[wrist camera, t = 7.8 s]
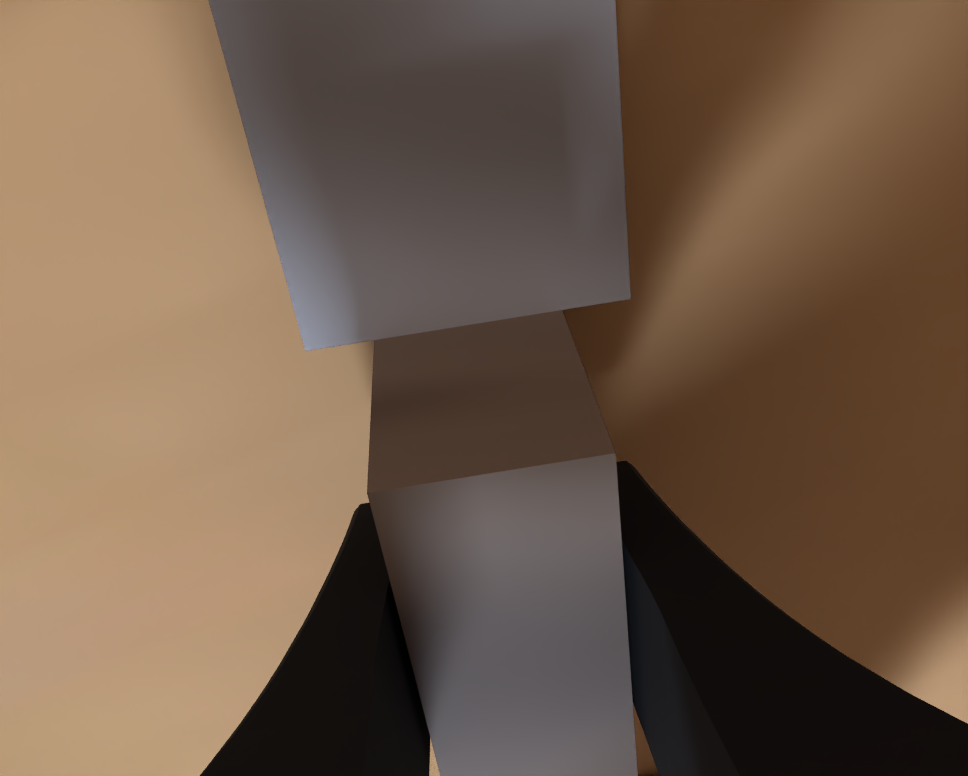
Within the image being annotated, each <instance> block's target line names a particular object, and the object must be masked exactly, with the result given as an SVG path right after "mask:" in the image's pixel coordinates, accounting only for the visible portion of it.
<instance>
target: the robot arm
mask: <svg viewBox="0 0 968 776" xmlns="http://www.w3.org/2000/svg"><path fill="white" fill-rule="evenodd" d="M616 465H617V479H618V494H619V509H620V523H621V538H622V553H623V567H624V582H625V597H626V611H627V626H628V641H629V655H630V670H631V685H632V699H633V704H634V707H635V709H636V712H637V715H638V717H639V720H640V723H641V726H642V728H643V731H644V734H645V737H646V739H647V742H648V745H649V748H650V750H651V753H652V756H653V758H654V761H655V764H656V767H657V769H658V772H659V775H660V776H968V724H967V723H965V722H963V721H961V720H959V719H957V718H955V717H953V716H951V715H950V714H948V713H946V712H944V711H942V710H940V709H938V708H936V707H934V706H932V705H930V704H928V703H926V702H925V701H923V700H921V699H919V698H917V697H915V696H913V695H911V694H909V693H908V692H906V691H904V690H902V689H901V688H899V687H897V686H896V685H894V684H892V683H891V682H889V681H887V680H886V679H884V678H882V677H881V676H879V675H877V674H876V673H874V672H872V671H871V670H869V669H867V668H866V667H864V666H862V665H861V664H859V663H857V662H856V661H854V660H852V659H851V658H849V657H847V656H846V655H844V654H843V653H841V652H840V651H838V650H837V649H835V648H834V647H832V646H831V645H829V644H828V643H826V642H825V641H823V640H822V639H820V638H819V637H817V636H816V635H815V634H813V633H812V632H810V631H809V630H808V629H806V628H805V627H803V626H802V625H801V624H799V623H798V622H797V621H795V620H794V619H792V618H791V617H790V616H788V615H787V614H786V613H784V612H783V611H782V610H781V609H779V608H778V607H777V606H775V605H774V604H773V603H772V602H770V601H769V600H768V599H767V598H765V597H764V596H763V595H762V594H760V593H759V592H758V591H757V590H756V589H754V588H753V587H752V586H751V585H750V584H749V583H747V582H746V581H745V580H744V579H743V578H742V577H740V576H739V575H738V574H737V573H736V572H734V571H733V570H732V569H731V568H730V567H729V566H728V565H727V564H726V563H724V562H723V561H722V560H721V559H720V558H719V557H718V556H717V555H716V554H715V553H714V552H713V551H712V550H711V549H710V548H709V547H707V546H706V545H705V544H704V543H703V542H702V541H701V540H700V539H699V538H698V537H697V536H696V535H695V534H694V533H693V532H692V531H691V530H690V529H689V528H688V527H687V526H686V525H685V524H684V523H683V522H682V521H681V520H680V519H679V518H678V517H677V516H676V515H675V514H674V512H673V511H672V510H671V509H670V508H669V507H668V506H667V505H666V504H665V503H664V502H663V501H662V500H661V498H660V497H659V496H658V495H657V494H656V493H655V492H654V490H653V489H652V488H651V487H650V486H649V485H648V483H647V482H646V481H645V480H644V479H643V477H642V476H641V475H640V474H639V473H638V471H637V470H636V469H635V467H634V466H633V465H631V464H630V463H628V462H627V461H621V462H616ZM429 762H430V734H429V730H428V726H427V722H426V718H425V714H424V710H423V707H422V703H421V699H420V695H419V691H418V687H417V683H416V680H415V676H414V672H413V668H412V664H411V660H410V656H409V653H408V649H407V645H406V641H405V637H404V633H403V629H402V626H401V622H400V618H399V614H398V610H397V606H396V602H395V599H394V595H393V591H392V587H391V583H390V579H389V575H388V572H387V568H386V564H385V560H384V556H383V552H382V548H381V545H380V541H379V537H378V533H377V529H376V525H375V521H374V518H373V514H372V510H371V506H370V503H365V504H360V505H359V507H358V508H357V509H356V510H355V511H354V514H353V517H352V520H351V522H350V525H349V528H348V530H347V533H346V535H345V538H344V540H343V542H342V545H341V547H340V550H339V552H338V554H337V556H336V559H335V561H334V563H333V565H332V567H331V570H330V572H329V574H328V576H327V578H326V580H325V582H324V584H323V586H322V588H321V590H320V592H319V594H318V596H317V598H316V600H315V602H314V604H313V606H312V608H311V610H310V612H309V614H308V616H307V618H306V620H305V621H304V623H303V625H302V627H301V628H300V630H299V632H298V634H297V635H296V637H295V639H294V641H293V642H292V644H291V646H290V647H289V649H288V651H287V653H286V654H285V656H284V658H283V660H282V661H281V663H280V665H279V666H278V668H277V670H276V671H275V673H274V674H273V676H272V677H271V679H270V681H269V682H268V684H267V685H266V687H265V688H264V690H263V691H262V693H261V694H260V696H259V697H258V699H257V700H256V702H255V703H254V704H253V706H252V707H251V709H250V710H249V712H248V713H247V714H246V716H245V717H244V719H243V720H242V722H241V723H240V724H239V726H238V727H237V729H236V730H235V731H234V732H233V734H232V735H231V736H230V738H229V739H228V740H227V742H226V743H225V744H224V745H223V747H222V748H221V749H220V751H219V752H218V753H217V754H216V756H215V757H214V758H213V760H212V761H211V762H210V764H209V765H208V766H207V767H206V769H205V770H204V771H203V772H202V773H201V775H200V776H429Z"/></svg>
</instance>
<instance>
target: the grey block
mask: <svg viewBox="0 0 968 776" xmlns="http://www.w3.org/2000/svg"><path fill="white" fill-rule="evenodd" d="M209 4H210V7H211V11H212V14H213V18H214V22H215V25H216V29H217V32H218V36H219V40H220V43H221V47H222V51H223V54H224V58H225V61H226V65H227V69H228V72H229V76H230V80H231V83H232V87H233V90H234V94H235V98H236V101H237V105H238V108H239V112H240V116H241V119H242V123H243V127H244V130H245V134H246V137H247V141H248V145H249V148H250V152H251V156H252V159H253V163H254V166H255V170H256V174H257V177H258V181H259V184H260V188H261V192H262V195H263V199H264V203H265V206H266V210H267V213H268V217H269V221H270V224H271V228H272V232H273V235H274V239H275V242H276V246H277V250H278V253H279V257H280V261H281V264H282V268H283V271H284V275H285V279H286V282H287V286H288V289H289V293H290V297H291V300H292V304H293V308H294V311H295V315H296V318H297V322H298V326H299V329H300V333H301V337H302V340H303V344H304V347H305V351H309V350H316V349H322V348H328V347H334V346H341V345H347V344H353V343H359V342H366V341H372V340H374V357H373V378H372V400H371V421H370V443H369V464H368V486H367V494H368V498H369V502H370V506H371V510H372V514H373V518H374V521H375V525H376V529H377V533H378V537H379V541H380V545H381V548H382V552H383V556H384V560H385V564H386V568H387V572H388V575H389V579H390V583H391V587H392V591H393V595H394V599H395V602H396V606H397V610H398V614H399V618H400V622H401V626H402V629H403V633H404V637H405V641H406V645H407V649H408V653H409V656H410V660H411V664H412V668H413V672H414V676H415V680H416V683H417V687H418V691H419V695H420V699H421V703H422V707H423V710H424V714H425V718H426V722H427V726H428V730H429V734H430V737H431V741H432V745H433V749H434V753H435V757H436V761H437V764H438V768H439V772H440V776H638V772H637V758H636V743H635V729H634V714H633V699H632V685H631V670H630V655H629V641H628V626H627V611H626V597H625V582H624V567H623V553H622V538H621V523H620V509H619V494H618V479H617V465H616V453H615V450H614V447H613V444H612V442H611V439H610V436H609V434H608V431H607V428H606V426H605V423H604V420H603V418H602V415H601V412H600V410H599V407H598V404H597V402H596V399H595V396H594V394H593V391H592V388H591V386H590V383H589V380H588V378H587V375H586V372H585V370H584V367H583V364H582V362H581V359H580V356H579V354H578V351H577V348H576V346H575V343H574V340H573V338H572V335H571V332H570V330H569V327H568V324H567V321H566V319H565V316H564V313H563V311H562V310H565V309H572V308H578V307H584V306H590V305H596V304H603V303H609V302H615V301H621V300H628V299H631V294H630V274H629V255H628V235H627V216H626V196H625V177H624V157H623V138H622V118H621V99H620V79H619V60H618V40H617V21H616V1H615V0H209Z"/></svg>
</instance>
